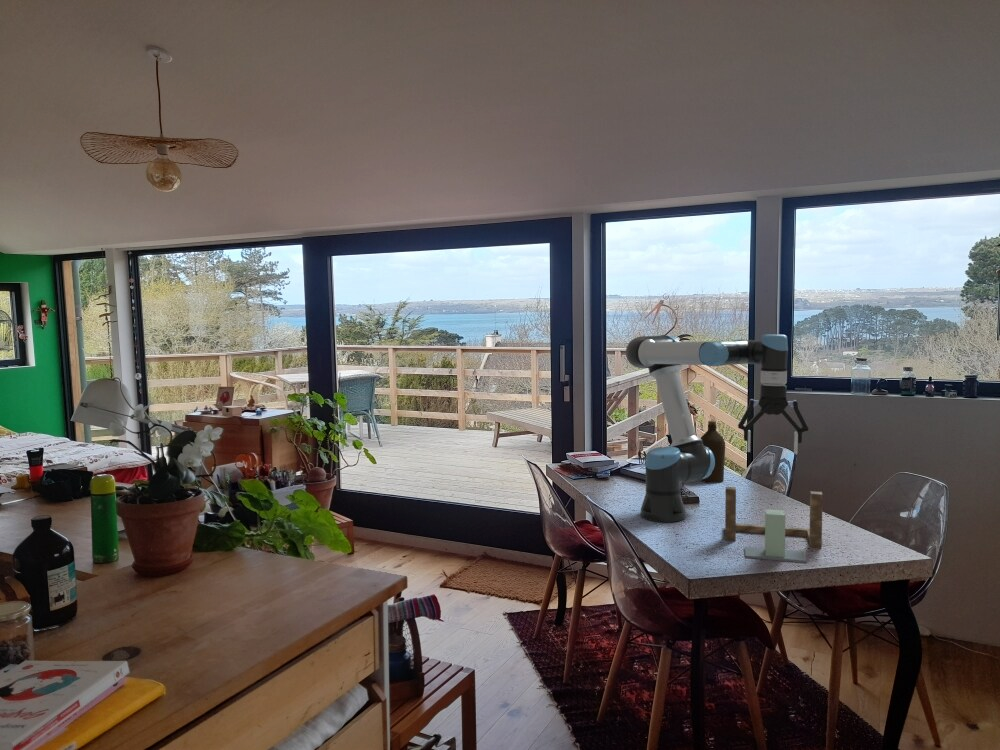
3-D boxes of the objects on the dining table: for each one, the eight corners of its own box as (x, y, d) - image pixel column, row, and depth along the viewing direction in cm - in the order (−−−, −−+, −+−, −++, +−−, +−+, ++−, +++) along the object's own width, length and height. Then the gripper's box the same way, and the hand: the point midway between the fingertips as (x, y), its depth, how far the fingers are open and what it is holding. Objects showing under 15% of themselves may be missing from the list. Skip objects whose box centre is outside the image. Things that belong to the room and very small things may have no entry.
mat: (745, 557, 195) (745, 555, 195) (744, 548, 203) (744, 546, 203) (806, 562, 190) (806, 560, 190) (803, 553, 198) (803, 551, 198)
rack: (725, 540, 211) (725, 489, 209) (725, 528, 222) (725, 480, 221) (821, 547, 202) (822, 494, 201) (816, 535, 214) (817, 484, 212)
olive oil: (728, 479, 288) (729, 420, 286) (719, 484, 280) (719, 424, 278) (704, 476, 295) (704, 418, 293) (694, 481, 287) (694, 422, 285)
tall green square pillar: (765, 555, 195) (766, 514, 194) (764, 549, 200) (765, 509, 199) (784, 557, 193) (785, 515, 192) (783, 551, 198) (783, 510, 197)
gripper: (731, 384, 212) (729, 452, 214) (819, 386, 204) (817, 456, 206) (730, 382, 219) (729, 448, 221) (816, 384, 211) (814, 451, 213)
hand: (771, 452), depth 214 cm, fingers open, 13 cm apart
